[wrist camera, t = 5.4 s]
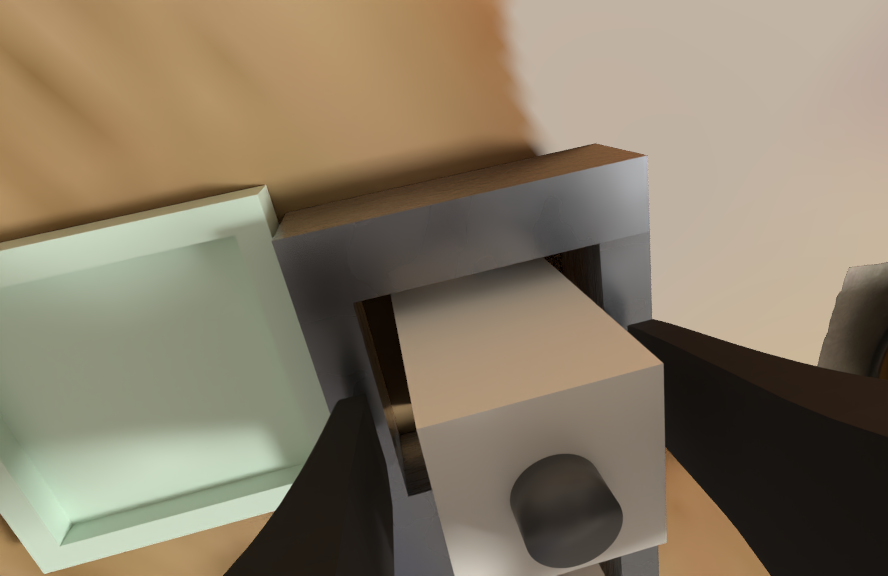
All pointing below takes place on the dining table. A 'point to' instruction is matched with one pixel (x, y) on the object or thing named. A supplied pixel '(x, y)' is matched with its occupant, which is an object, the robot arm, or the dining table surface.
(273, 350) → the tray
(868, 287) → the condiment
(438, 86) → the dining table surface
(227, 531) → the dining table surface
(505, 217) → the small drawer cabinet
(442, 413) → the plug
